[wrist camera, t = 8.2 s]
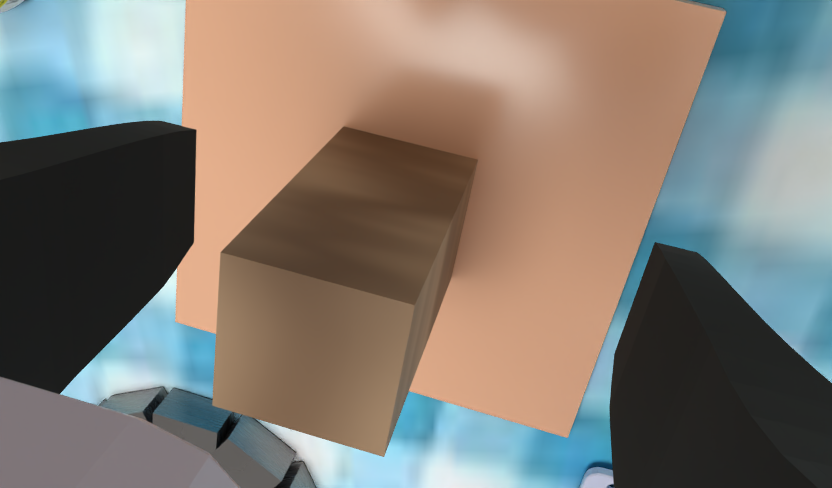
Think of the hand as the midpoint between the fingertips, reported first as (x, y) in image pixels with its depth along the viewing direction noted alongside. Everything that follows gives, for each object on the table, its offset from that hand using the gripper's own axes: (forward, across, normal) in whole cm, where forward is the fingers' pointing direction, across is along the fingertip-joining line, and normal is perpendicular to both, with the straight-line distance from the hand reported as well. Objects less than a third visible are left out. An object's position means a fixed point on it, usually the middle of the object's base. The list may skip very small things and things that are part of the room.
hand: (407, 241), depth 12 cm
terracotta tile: (+10, +2, +4) cm, 11 cm away
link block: (+10, +2, +4) cm, 11 cm away
